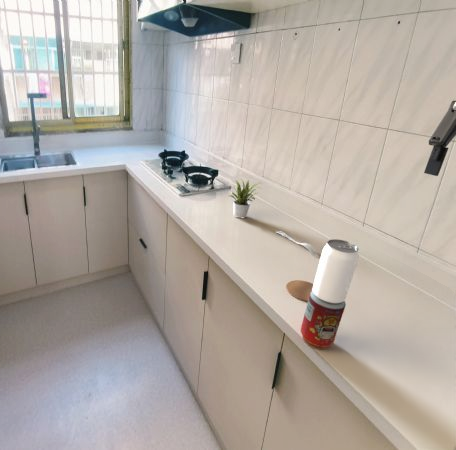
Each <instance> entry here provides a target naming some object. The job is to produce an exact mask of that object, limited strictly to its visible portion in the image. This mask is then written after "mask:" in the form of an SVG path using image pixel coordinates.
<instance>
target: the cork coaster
mask: <svg viewBox="0 0 456 450" xmlns="http://www.w3.org/2000/svg"><path fill="white" fill-rule="evenodd" d="M313 284H314V283H312V282H309V281H307V280H301V279H300V280H298V279H296V280H291V281H288V282H287V283H286V286H285V289H286V292H287V293H288V294H289V295H291V296H292V297H293V298H295V299H297V300H299V301H303V302H307V303H308V300H309V296H310V293H311V292H312V288H313Z"/></svg>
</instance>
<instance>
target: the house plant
mask: <svg viewBox="0 0 456 450" xmlns="http://www.w3.org/2000/svg"><path fill="white" fill-rule="evenodd" d="M240 180H241V182H242V186H241V184H240V183H239V181H238V180H235V182H236V186H237V188H235V187H233V188H234V190H235V192H236V193H234V192H233V191H229V192H230V193H231V194H232V195H228V197H231V198H233V199H234V200H233V201H232V206H233V207H232V209H233V210H232V211H233V216H234V215H235V216H238V217H246V218H247V215H248V213H249V209H250V206H251V202H252V203H254V201H255V200H256V199H255V197H254V196H255V195H257V192H254V191H256V190H257V189H262V188H261V187H259V186H258V185H260V184H261V182H257V183H254V184H253V185H251V184H250V181H249V180H247V181H246V183H245V182H244V180H243V179H242V178H240ZM227 184H228V185H231V186H232V184H231V183H228V182H227ZM256 186H258V187H256Z"/></svg>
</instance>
